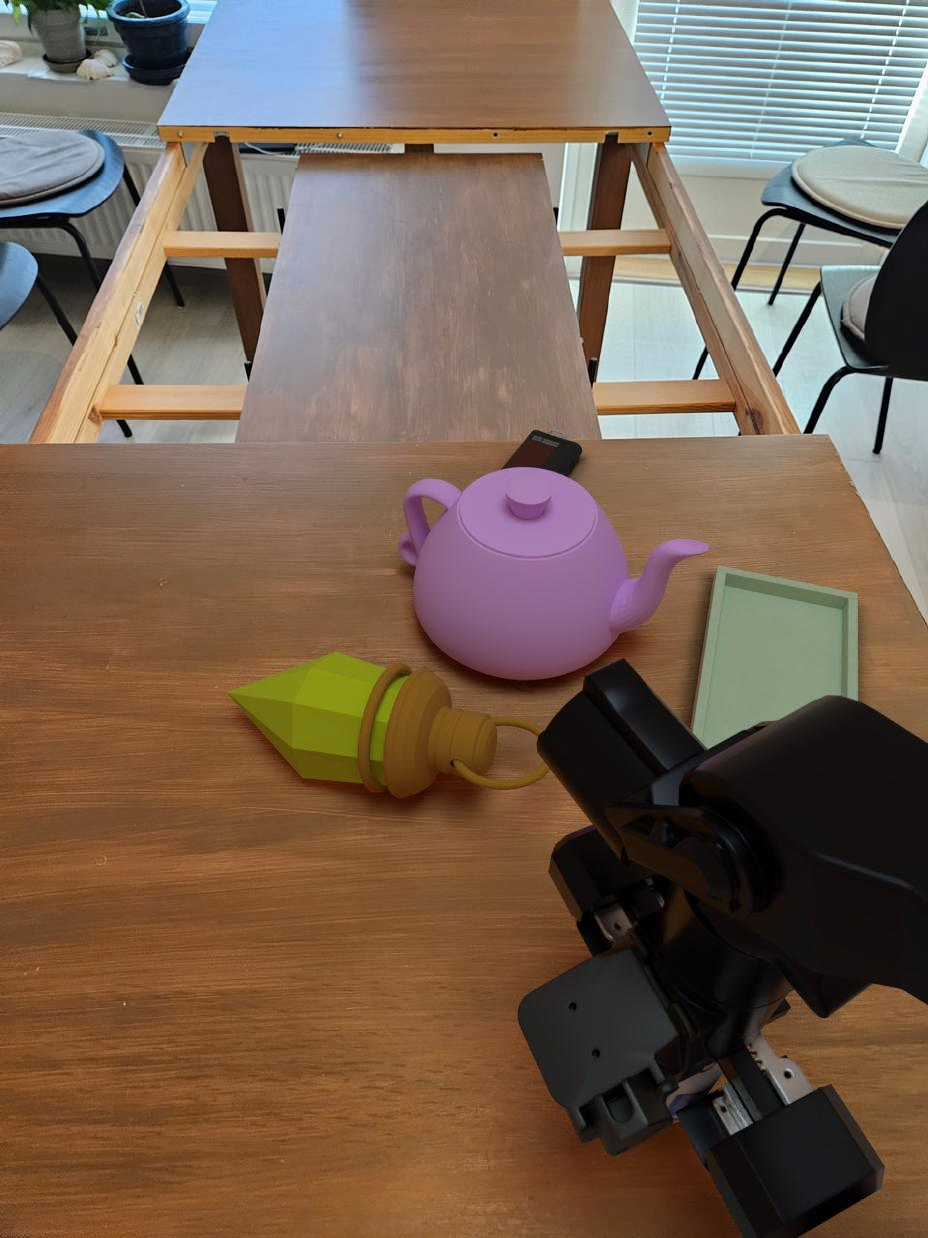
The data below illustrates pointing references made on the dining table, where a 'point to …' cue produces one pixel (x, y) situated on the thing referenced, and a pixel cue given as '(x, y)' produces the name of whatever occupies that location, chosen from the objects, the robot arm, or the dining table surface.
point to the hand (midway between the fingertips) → (664, 1056)
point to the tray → (771, 651)
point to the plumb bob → (375, 726)
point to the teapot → (527, 573)
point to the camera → (546, 453)
